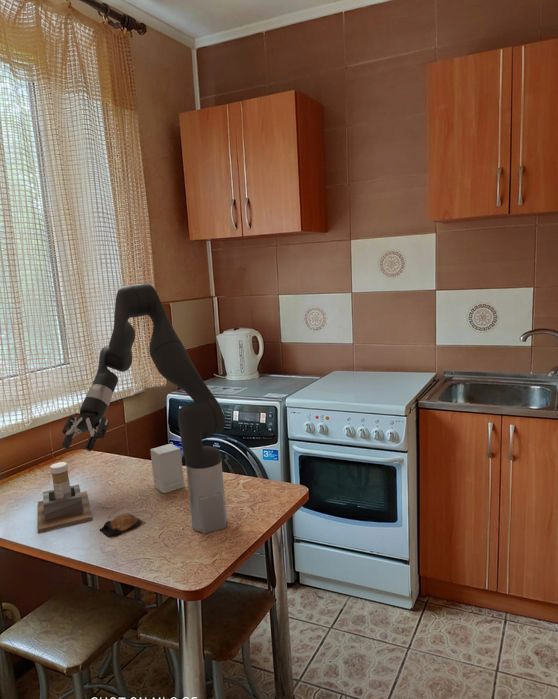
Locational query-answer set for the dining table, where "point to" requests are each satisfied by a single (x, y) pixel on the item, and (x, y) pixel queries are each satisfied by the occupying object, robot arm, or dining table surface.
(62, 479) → the sprinkles bottle
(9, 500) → the dining table surface
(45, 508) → the collar board
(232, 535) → the dining table surface
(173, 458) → the supplement box
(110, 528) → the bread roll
